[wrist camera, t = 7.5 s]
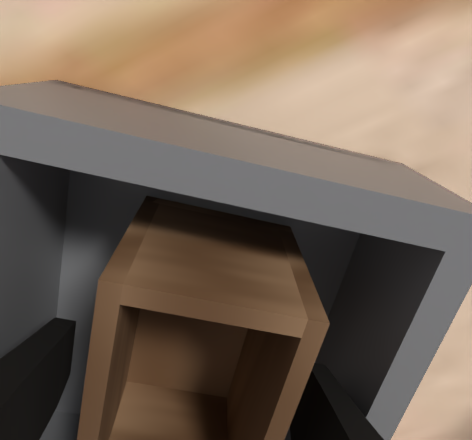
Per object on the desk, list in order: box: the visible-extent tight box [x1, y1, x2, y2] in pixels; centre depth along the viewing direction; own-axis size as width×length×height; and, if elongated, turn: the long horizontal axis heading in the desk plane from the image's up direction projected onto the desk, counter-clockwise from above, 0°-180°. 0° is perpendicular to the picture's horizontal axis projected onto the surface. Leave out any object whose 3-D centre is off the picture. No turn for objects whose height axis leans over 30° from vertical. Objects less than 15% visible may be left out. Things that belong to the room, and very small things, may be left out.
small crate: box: [77, 196, 330, 440], centre depth 12 cm, size 5×8×6 cm, turn 166°
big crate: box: [0, 80, 472, 440], centre depth 13 cm, size 12×14×6 cm
